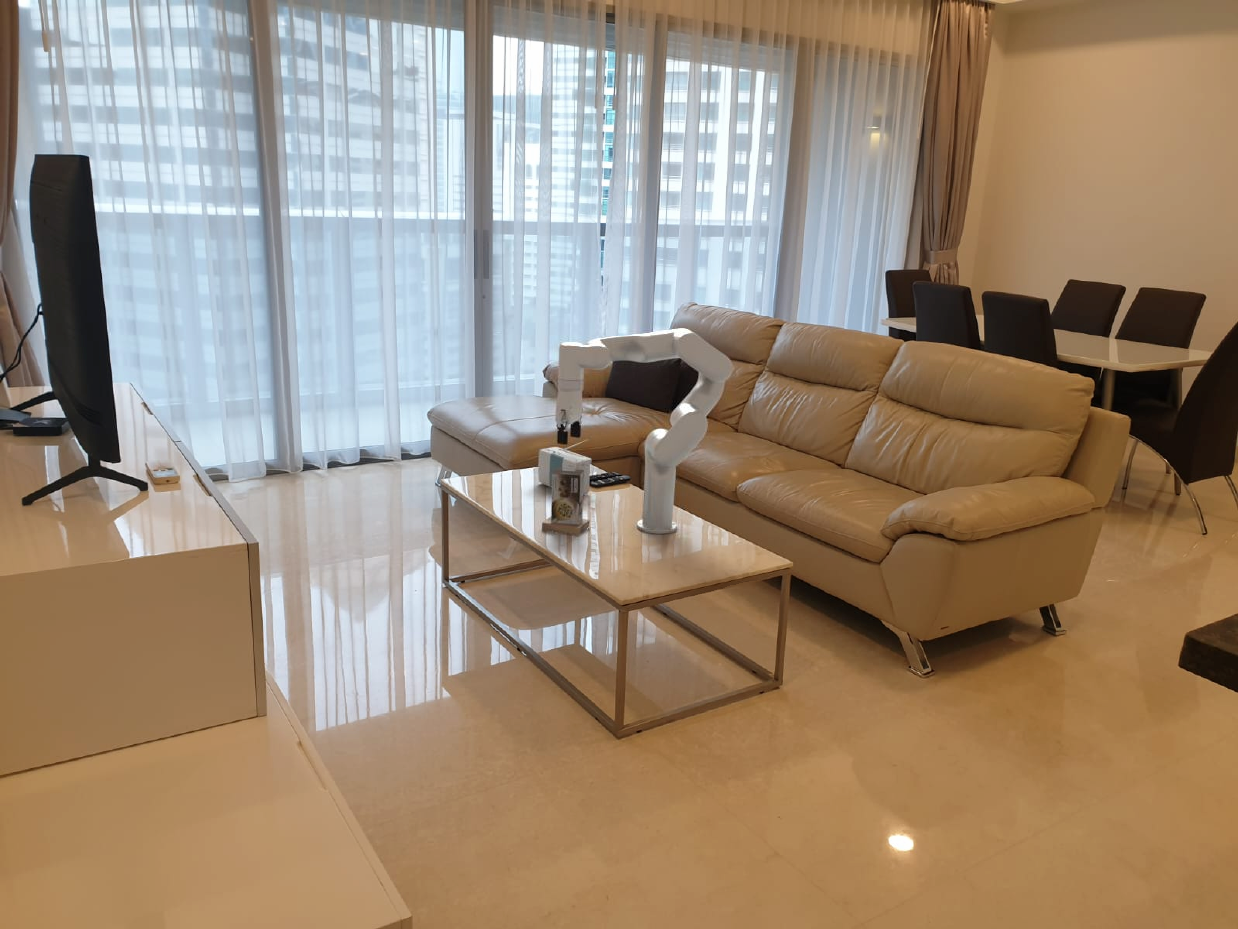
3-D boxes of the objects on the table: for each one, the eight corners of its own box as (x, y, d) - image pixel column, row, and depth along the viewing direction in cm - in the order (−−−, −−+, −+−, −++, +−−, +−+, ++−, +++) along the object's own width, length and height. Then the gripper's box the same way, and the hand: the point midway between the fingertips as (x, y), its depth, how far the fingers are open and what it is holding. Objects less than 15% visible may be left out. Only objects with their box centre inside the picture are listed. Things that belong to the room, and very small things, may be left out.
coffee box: (582, 519, 282) (584, 469, 278) (579, 525, 276) (581, 475, 272) (554, 516, 283) (555, 467, 279) (550, 523, 277) (551, 472, 273)
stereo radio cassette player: (536, 484, 324) (538, 430, 319) (554, 480, 330) (556, 427, 324) (573, 499, 310) (576, 442, 304) (592, 495, 315) (594, 439, 310)
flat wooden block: (554, 521, 286) (554, 514, 285) (589, 527, 282) (589, 520, 282) (541, 530, 278) (542, 522, 277) (577, 536, 274) (578, 528, 273)
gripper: (570, 378, 277) (568, 433, 282) (546, 387, 261) (545, 445, 266) (593, 381, 275) (591, 436, 279) (570, 390, 259) (568, 448, 263)
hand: (568, 440), depth 272 cm, fingers open, 9 cm apart
